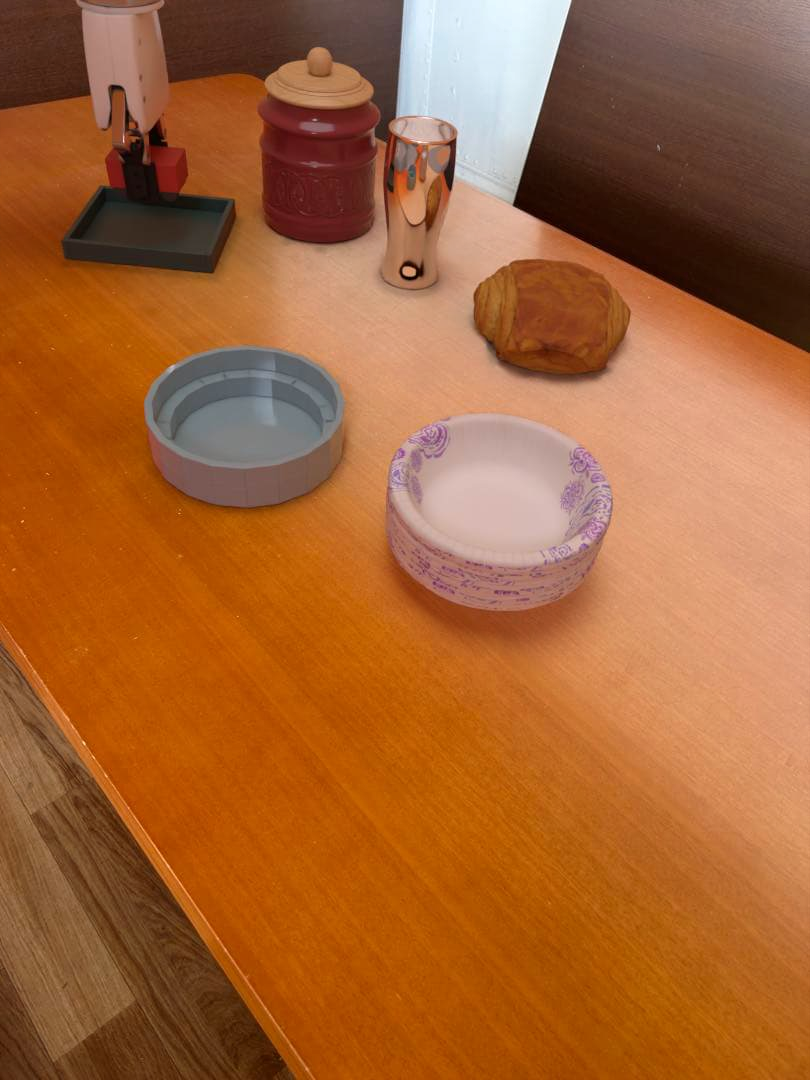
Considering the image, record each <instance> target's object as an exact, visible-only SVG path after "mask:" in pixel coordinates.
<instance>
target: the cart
mask: <svg viewBox="0 0 810 1080" xmlns="http://www.w3.org/2000/svg"><path fill="white" fill-rule="evenodd" d="M138 145H139V147H140V148H141V146H140V144H138ZM149 147H150V158H151V162H155V168H156V174H157V181H158V187H159V191H160V194H161V196H162V198H163V199H165V200H166V201H170V202H171V201H175V200H176V199H177V197H178V195H179V193H181V190H182V188H183V187H184V185H185V184H186V182H187V178H189V168H188V160H187V153H186V148H185V147H176V146H174V147H173V146H168V147H165V146H155V145H149ZM104 162H105V163H104V164H105V168H106V172H107V177H108V182H109V183H108V184H109V186H110V187H113V190H114V192H115V193H116V194H117V195H118V196H120V197H127V192H126V187H125V182H124V176H123V171H122V165H121V163H120V160H119V153H118V151H116V150H115V149H114V148H113V147H112V149H111V150H109V153H108V154H107V156H106V157H105V158H104Z"/></svg>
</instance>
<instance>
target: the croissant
mask: <svg viewBox="0 0 810 1080" xmlns="http://www.w3.org/2000/svg"><path fill="white" fill-rule="evenodd" d="M472 298H473V320H474V324H475V325H476V328H477V329H476V330H477V332H478V334H479V335H484V336H485V337H486V339H487V341H488V342H489V343H491V344H492V345H493V346H494V348H495V349H494V353H495V356H496V357H497V358H498V359H499V360H500V361H505V362H508V363H510V364H511V365H514V366H517V367H519V368H523V369H526V370H530V371H535V372H541V373H549V374H554V375H565V376H566V375H571V374H582V373H588V372H594V371H600V370H603V369H606V368H607V367H608V362H609V360H610V357H611V354H612V352H613V351H615V350H616V349H617V347H619V346H620V345H621V343H622V342H623V341H624V339H625V337H626V335H627V332H628V328H629V325H630V320H631V312H632V311H631V309H630V307H629V305H628V303H627V302H626V301H625V300H623V296H621V294H620V293H619V291H618V290H617V289H616V288H614V287H612V285H611V283H610V281H609V280H607V279H606V278H605V275H604V273H600V272H598V271H595V270H593V269H592V268H589V267H587V266H585V265H582V264H581V263H578V262H573V261H568V260H553V259H552V260H551V259H544V258H525V259H516V260H515V259H514V260H513V261H510V263H509V264H507V265H503V266H501V267H500V268H499V269H497V270H496V271H495V272H494V274H492V275H490V276H488V277H486V278H485V279H484V280H483V281H481V282H479V284H478V285H477V287H476V288H475V290H474V291H473V296H472Z"/></svg>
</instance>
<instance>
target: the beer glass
mask: <svg viewBox="0 0 810 1080" xmlns="http://www.w3.org/2000/svg"><path fill="white" fill-rule="evenodd" d="M458 132H459V131H458V130H457V128H456V127H455V126H454V125H453V124H451V123H450V122H448V121H446V120H443V119H440V118H437V117H433V116H426V115H405V116H404V115H403V116H400V117H397V118H395V119H392V120H391V121H390V122H389V124H388V131H387V140H386V145H385V146H386V147H385V153H384V161H383V178H382V189H383V206H384V212H385V222H386V248H385V254H384V257H383V259H382V264H381V269H380V272H381V273H380V274H381V277H382V278H383V279H384V281H385V282H387V283H388V284H390V285H391V286H394V287H396V288H400V289H405V290H422V289H426V288H428V287H431V286H432V285H433V284H435V283H436V281H437V279H438V262H437V261H438V260H437V254H438V253H437V252H438V251H437V250H438V244H439V239H440V235H441V231H442V228H443V225H444V221H445V218H446V215H447V212H448V208H449V205H450V201H451V198H452V193H453V188H454V182H455V175H456V165H457V145H458V144H457V143H458V136H459V135H458V134H459V133H458Z"/></svg>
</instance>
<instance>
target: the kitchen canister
mask: <svg viewBox="0 0 810 1080" xmlns="http://www.w3.org/2000/svg"><path fill="white" fill-rule="evenodd" d="M264 88H265V90H266V92H267V93H268V94H266V95H265V96H263V97H262V98H261V99H260V100H259V102H258V104H257V108H256V109H257V113H258V116H259V117H260V118H261V120H262V121H263V122H262V124H263V125H262V126H263V127H262V132H261V134H260V135H259V138H258V144H259V147H260V152H261V155H260V156H261V174H262V175H261V176H262V193H261V200H262V202H261V206H262V210H263V212H264V217H265V221H266V222H267V223H268V225H269V226H270V227H271V228H272V229H273V230H275V231H276V232H278V233H280V234H282V235H284V236H286V237H288V238H292V239H295V240H299V241H304V242H310V243H311V242H312V243H336V242H337V243H338V242H343V241H344V242H345V241H347V240H351V239H354V238H356V237H359V236H361V235H363V234H364V233H365V232H367V231H368V230H369V229H370V227H371V226H372V223H373V217H374V215H375V212H376V198H375V191H376V190H375V189H376V188H375V187H376V170H377V155H378V153H379V143H378V141H377V139H376V138H375V137H376V135H375V133H376V132H375V130H376V129H375V128H376V127H377V125H378V124H379V123H380V120H381V112H380V110H379V108H378V107H377V105H376V104H375V103H374V102H372V101H371V99H372V98H373V96H374V92H375V91H374V86H373V85H372V84H371V83H370V82H369V81H368V80H367V79H366V78H365V77H364V76H363V77H362V76H361V73H360V72H358V71H357V70H356V69H354V68H353V67H351V66H348V65H347V64H343V63H341V62H335V61H333V57H332V55H331V53H330V51H329V50H328V49H326V48H325V47H322V46H316V47H313V48H311V49H310V50H309V52H308V53H307V56H306V59H301V60H294V61H290V62H287V63H284V64H282V66H280V67H278V70H276V71H274V72H272V73H271V74H269V75H268V76H267V77H266V78H265V80H264Z"/></svg>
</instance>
